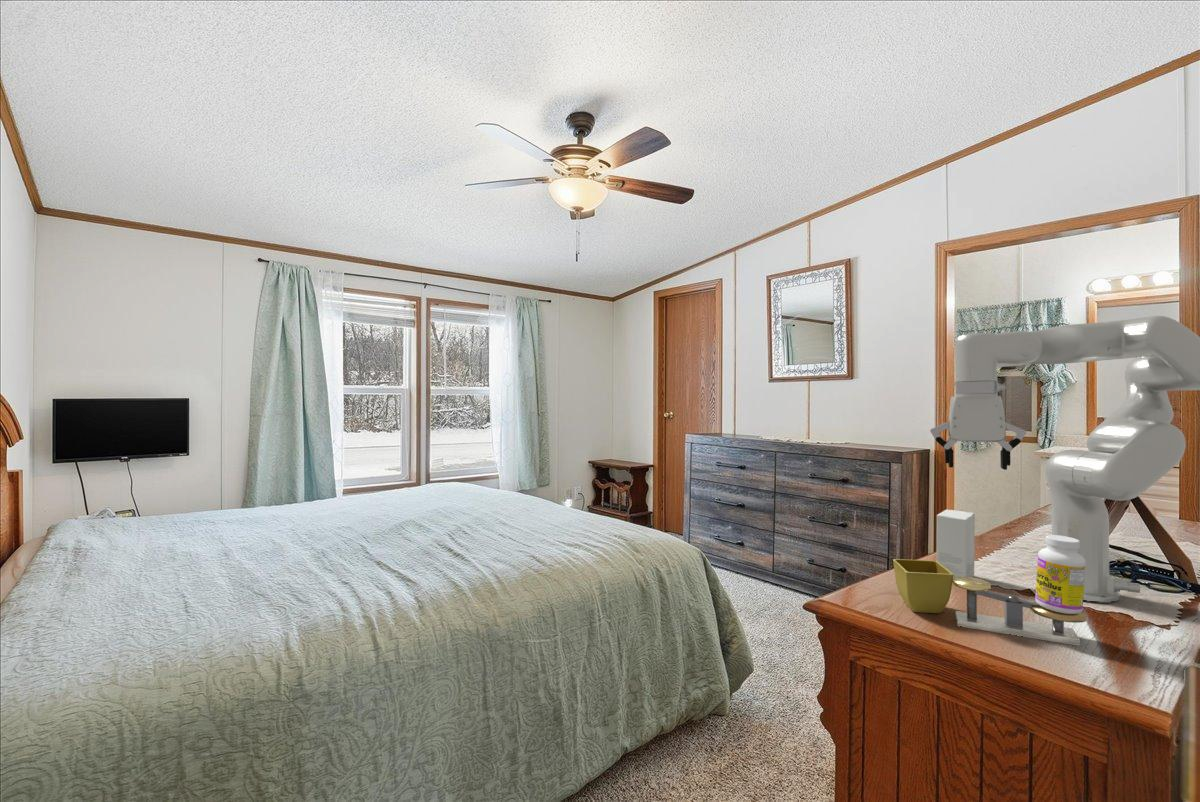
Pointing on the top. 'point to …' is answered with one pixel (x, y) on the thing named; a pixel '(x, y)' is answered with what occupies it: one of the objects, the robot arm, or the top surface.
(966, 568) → the skincare box
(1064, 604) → the supplement bottle
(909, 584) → the flower pot
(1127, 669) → the top surface
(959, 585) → the balance
